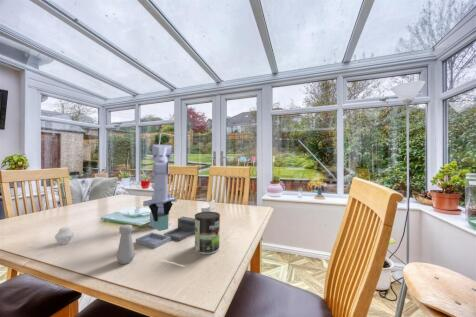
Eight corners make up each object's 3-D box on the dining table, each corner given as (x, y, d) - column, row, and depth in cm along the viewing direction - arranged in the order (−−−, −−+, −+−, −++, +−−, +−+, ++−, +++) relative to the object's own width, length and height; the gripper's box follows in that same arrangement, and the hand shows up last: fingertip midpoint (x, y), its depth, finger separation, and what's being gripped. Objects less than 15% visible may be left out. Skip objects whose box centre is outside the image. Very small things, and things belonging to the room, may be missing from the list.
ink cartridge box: (206, 225, 114) (206, 198, 114) (215, 225, 113) (215, 198, 113) (200, 230, 106) (201, 201, 106) (210, 231, 105) (210, 202, 105)
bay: (161, 237, 97) (161, 224, 96) (183, 227, 110) (183, 216, 110) (182, 242, 91) (182, 229, 91) (201, 231, 104) (201, 219, 104)
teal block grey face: (159, 231, 89) (159, 216, 89) (152, 227, 94) (152, 213, 94) (168, 229, 92) (168, 214, 92) (161, 225, 97) (161, 211, 97)
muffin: (58, 241, 91) (58, 225, 91) (75, 239, 93) (75, 223, 93) (52, 247, 85) (52, 230, 85) (70, 245, 88) (70, 228, 87)
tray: (135, 243, 90) (135, 238, 90) (152, 236, 97) (152, 232, 97) (155, 249, 85) (155, 244, 85) (170, 241, 92) (170, 236, 92)
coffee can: (224, 247, 88) (225, 213, 87) (208, 257, 79) (209, 220, 79) (205, 241, 93) (206, 210, 93) (189, 250, 84) (189, 215, 84)
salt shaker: (121, 257, 78) (121, 223, 77) (137, 257, 78) (137, 222, 78) (113, 266, 72) (113, 228, 71) (130, 265, 72) (130, 228, 72)
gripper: (147, 192, 85) (147, 225, 85) (180, 188, 95) (179, 218, 95) (141, 190, 90) (141, 221, 90) (172, 186, 100) (172, 215, 100)
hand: (160, 219), depth 93 cm, fingers closed on teal block grey face, 4 cm apart
